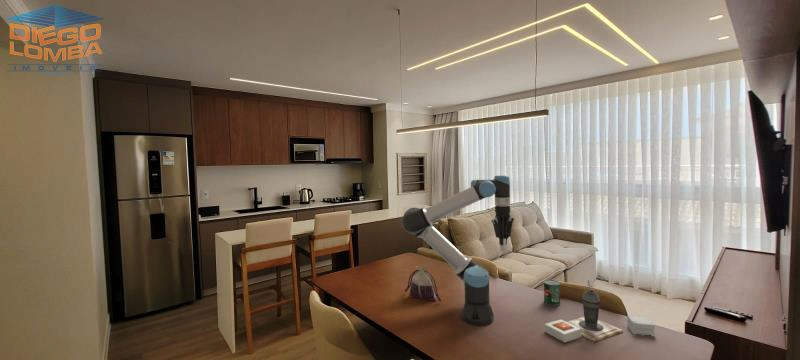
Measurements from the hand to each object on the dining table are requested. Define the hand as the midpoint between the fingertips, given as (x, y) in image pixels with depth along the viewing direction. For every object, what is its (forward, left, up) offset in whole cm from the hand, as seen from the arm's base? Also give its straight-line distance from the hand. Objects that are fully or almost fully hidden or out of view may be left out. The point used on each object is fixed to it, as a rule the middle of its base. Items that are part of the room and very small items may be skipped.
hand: (503, 251), depth 170 cm
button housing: (+3, -33, -29) cm, 44 cm away
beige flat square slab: (+18, -35, -29) cm, 49 cm away
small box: (+35, -46, -30) cm, 65 cm away
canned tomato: (+26, -7, -30) cm, 40 cm away
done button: (+3, -33, -28) cm, 43 cm away
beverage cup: (+18, -35, -28) cm, 48 cm away
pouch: (-32, +30, -30) cm, 53 cm away
